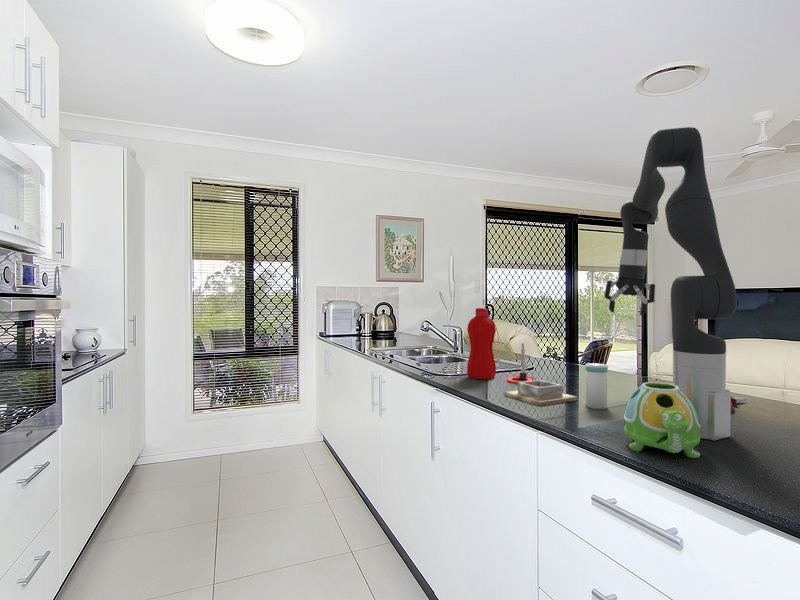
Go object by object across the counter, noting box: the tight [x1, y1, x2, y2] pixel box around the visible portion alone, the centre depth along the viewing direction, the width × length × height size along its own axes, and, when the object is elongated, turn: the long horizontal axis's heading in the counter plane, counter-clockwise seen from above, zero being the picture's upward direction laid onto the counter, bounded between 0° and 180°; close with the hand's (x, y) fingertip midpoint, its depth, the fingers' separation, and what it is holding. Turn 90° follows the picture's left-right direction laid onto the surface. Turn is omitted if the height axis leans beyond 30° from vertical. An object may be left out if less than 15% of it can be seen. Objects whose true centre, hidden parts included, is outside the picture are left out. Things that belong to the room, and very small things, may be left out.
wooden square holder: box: [503, 379, 578, 407], centre depth 123 cm, size 14×14×4 cm
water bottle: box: [466, 307, 500, 381], centre depth 154 cm, size 9×11×25 cm
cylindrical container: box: [585, 362, 609, 410], centre depth 113 cm, size 5×5×11 cm
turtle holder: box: [623, 381, 701, 459], centre depth 80 cm, size 12×18×12 cm
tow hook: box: [506, 342, 534, 385], centre depth 147 cm, size 8×13×9 cm
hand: (626, 313), depth 140 cm, fingers open, 8 cm apart
